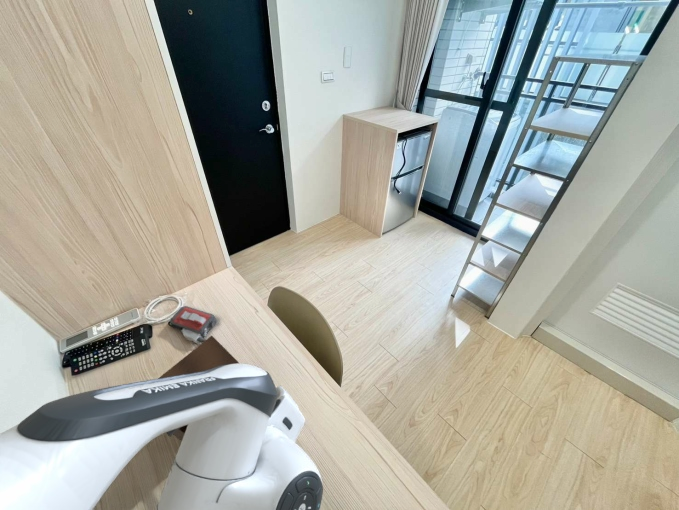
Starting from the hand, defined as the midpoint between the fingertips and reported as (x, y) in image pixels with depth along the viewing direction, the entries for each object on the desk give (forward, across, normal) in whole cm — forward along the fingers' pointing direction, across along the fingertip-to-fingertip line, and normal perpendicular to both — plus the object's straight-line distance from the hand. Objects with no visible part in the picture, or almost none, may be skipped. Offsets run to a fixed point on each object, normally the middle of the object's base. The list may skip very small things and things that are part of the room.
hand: (237, 426), depth 54 cm
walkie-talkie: (+30, +9, +17) cm, 35 cm away
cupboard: (+15, 0, +2) cm, 15 cm away
